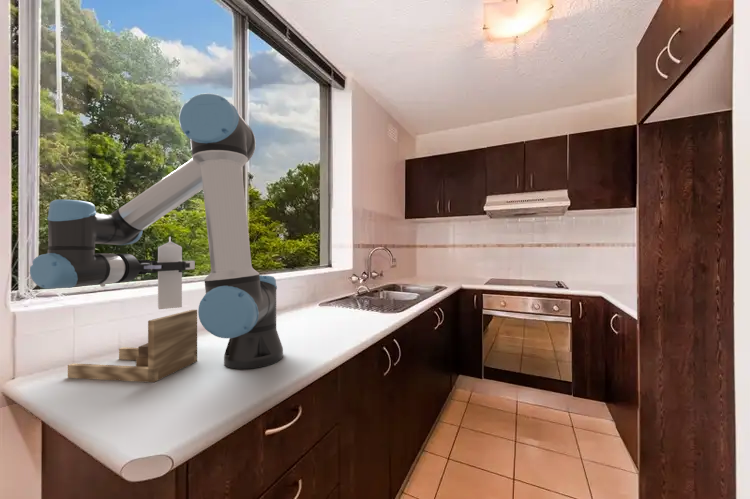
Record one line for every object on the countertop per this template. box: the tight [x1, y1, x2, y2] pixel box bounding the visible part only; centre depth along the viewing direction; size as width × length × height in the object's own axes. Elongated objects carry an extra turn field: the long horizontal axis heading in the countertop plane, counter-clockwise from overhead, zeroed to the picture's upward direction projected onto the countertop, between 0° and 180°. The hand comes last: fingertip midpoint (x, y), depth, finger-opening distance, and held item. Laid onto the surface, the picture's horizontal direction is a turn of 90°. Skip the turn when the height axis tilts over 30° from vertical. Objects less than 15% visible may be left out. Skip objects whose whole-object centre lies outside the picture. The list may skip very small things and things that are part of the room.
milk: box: [157, 236, 183, 310], centre depth 97 cm, size 6×6×22 cm
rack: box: [67, 309, 198, 383], centre depth 79 cm, size 23×14×14 cm, turn 82°
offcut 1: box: [137, 342, 148, 357], centre depth 78 cm, size 5×6×2 cm
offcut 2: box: [135, 357, 148, 367], centre depth 77 cm, size 5×7×2 cm
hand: (181, 264), depth 101 cm, fingers closed on milk, 8 cm apart
